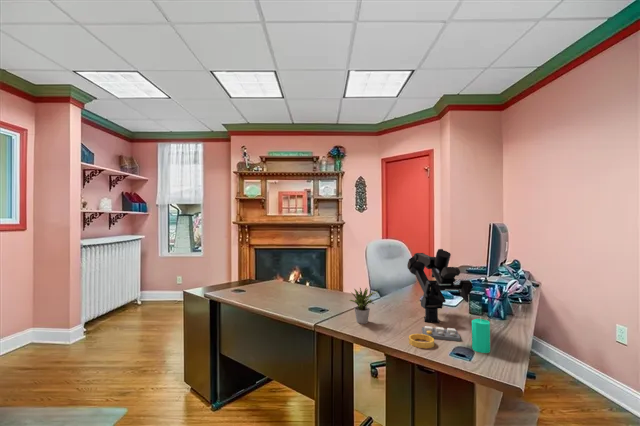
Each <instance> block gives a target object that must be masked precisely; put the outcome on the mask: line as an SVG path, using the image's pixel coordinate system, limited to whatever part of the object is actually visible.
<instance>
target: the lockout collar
mask: <svg viewBox="0 0 640 426" xmlns="http://www.w3.org/2000/svg"><path fill="white" fill-rule="evenodd" d="M418 340H420V341H418ZM424 341H426V342H424ZM408 344H409V345H411V346H412V347H415V348H418V349H432V348H434V347H435V339H434V338H432V337H431V336H428V335H425V334H423V333H412V334H410V335H408Z"/></svg>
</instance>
